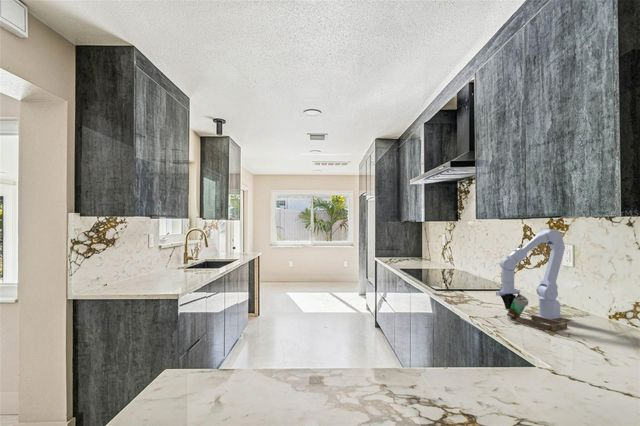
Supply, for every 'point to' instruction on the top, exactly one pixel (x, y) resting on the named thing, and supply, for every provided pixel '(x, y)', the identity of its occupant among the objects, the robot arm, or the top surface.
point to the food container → (517, 306)
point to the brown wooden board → (554, 326)
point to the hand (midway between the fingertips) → (508, 309)
